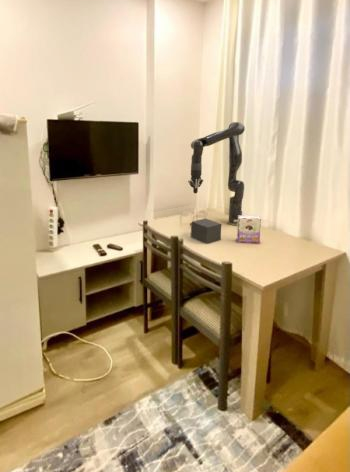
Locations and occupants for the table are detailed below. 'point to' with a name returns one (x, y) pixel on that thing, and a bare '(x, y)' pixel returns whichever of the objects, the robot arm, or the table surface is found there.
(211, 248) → the table surface
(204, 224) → the dark grey rectangular block
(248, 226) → the candy box
